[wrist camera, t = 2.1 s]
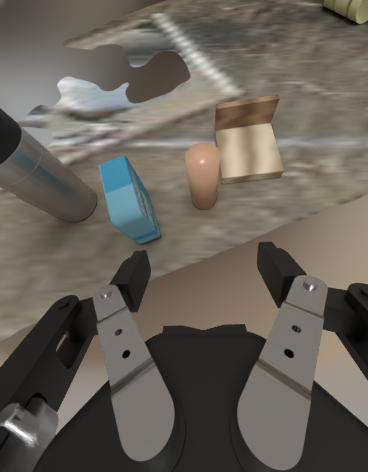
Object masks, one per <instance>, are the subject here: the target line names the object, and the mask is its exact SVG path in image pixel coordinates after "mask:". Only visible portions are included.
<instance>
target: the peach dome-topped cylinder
mask: <svg viewBox="0 0 368 472" xmlns="http://www.w3.org/2000/svg"><path fill="white" fill-rule="evenodd" d="M185 163H186V169H187V175H188V181H189V187H190V192H191V198H192V203H193V205H194V206H195V207H197V208H198V209H209V208H211V207H212V206H213V205H214V204H215V202H216V197H217V187H218V176H219V166H220V151H219V150H218V148H217V147H216V146H214V145H213V144H210V143H198V144H195V145H193V146H192V147H190V148H189V149H188V151H187V152H186V155H185Z"/></svg>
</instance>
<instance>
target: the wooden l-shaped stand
mask: <svg viewBox="0 0 368 472" xmlns="http://www.w3.org/2000/svg"><path fill="white" fill-rule="evenodd" d="M278 101H279V96H278V95H272V96H266V97H260V98H254V99H248V100H241V101H235V102H229V103H223V104H217V105H216V115H215V141H216V147H217V148H218V150H219V151H220V166H219V170H220V178H221V184H226V183H235V182H244V181H252V180H261V179H269V178H278V177H280V176H281V175H282V173H283V171H284V170H283V166H282V162H281V159H280V155H279V152H278V148H277V144H276V141H275V137H274V134H273V130H272V126H271V120H272V117H273V115H274V112H275V109H276V107H277V104H278Z"/></svg>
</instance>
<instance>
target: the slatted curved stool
mask: <svg viewBox="0 0 368 472" xmlns="http://www.w3.org/2000/svg"><path fill="white" fill-rule="evenodd" d="M323 6H324V7H326V8H328V9H330V10H332V11H335V12H336V13H338V14H340V15H342V16H344V17H347V18H349V19H351V20H353V21H355V22H357V23H359V24H362V23H364V22H366V21H368V0H324V3H323Z"/></svg>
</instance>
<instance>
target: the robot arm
mask: <svg viewBox="0 0 368 472" xmlns="http://www.w3.org/2000/svg"><path fill="white" fill-rule="evenodd" d="M0 187H1V188H3V189H5V190H7V191H9V192H11V193H13V194H15V195H16V196H17V197H18V198H19V199H21V200H23V201H25V202H27V203H29V204H31V205H33V206H35V207H38V208H40V209H42V210H44V211H46V212H48V213H50V214H52V215H54V216H56V217H58V218H62V219H64V220H66V221H68V222H78V221H82V220H84V219H85V218H87V217H88V216H89V215H90V214H91V213H92V212H93V210H94V208H95V206H96V203H97V197H96V194H95V192H94V191H93V190H92V189H91V188H90V187H89V186H87V185H86V184H85V183H84V182H83V181H82V180H81V179H80V178H79V177H77V176H76V175H75V174H74V173H73V172H72V171H71V170H70V169H68V168H67V167H66V166H65V165H64V164H63V163H62V162H61V161H59V160H58V159H57V158H56V157H55V156H54V155H53V154H52V153H50V152H49V151H48V150H47V149H46V148H45V147H44V146H43V145H41V144H40V143H39V142H38V141H37V140H36V139H35V138H33V137H32V136H31V135H30V134H29V133H28V132H27V131H25V130H24V129H23V128H22V127H21V126H20V125H19V124H18V123H17V122H16V121H14V120H13V119H12V118H11V117H10V116H9V115H7V114H6V113H5V112H4V111H3V110H2V109H0ZM257 267H258V270H259V272H260V274H261V276H262V278H263V280H264V282H265V284H266V286H267V288H268V290H269V291H270V294H271V296H272V298H273V299H274V301H275V303H276V305H277V307H278V308H280V310H279V312H278V315H277V317H276V319H275V322H274V324H273V326H272V329H271V331H270V333H269V336H268V338H267V340H266V339H264V338H263V337H261V336H259V335H257V334H254V333H251V332H247V330H246V327H245V324H240V325H239V324H237V325H236V324H235V325H221V326H218V327H214V328H211V329H207V330H200V329H195V328H191V327H187V326H164V327H163V333H160V334H158V335H155V336H153V337H152V338H150V339H149V340H147V341H146V342H144V340H143V338H142V336H141V334H140V332H139V330H138V328H137V325H136V323H135V321H134V319H133V317H132V315H131V312H138V309H139V306H140V303H141V301H142V298H143V295H144V292H145V289H146V286H147V283H148V281H149V278H150V275H151V267H150V263H149V259H148V255H147V252H146V250H140V251H135V252H134V253H133V255H132V257H131V258H128V259H126V260H125V261H124V262H123V263H122V265H121V266H120V268H119V270H118V272H117V273H116V274H115V276H114V277H113V279H112V281H111V282H110V284H109V285H107V286H104V287H102V288H100V289H99V290H97V291H96V292H95V294H94V295H93V297H91V298H88V299H84V300H81V301H79V299H78V297H77V296H75V295H69V296H66V297H63V298H61V299H60V300H58V301H57V302H55V303H54V304H53V305H52V306H51V308H50V309H49V310H48V311H47V312H46V313H45V315H44V316H43V317H42V318H41V319H40V321H39V322H38V323H37V324H36V325H35V327H34V328H33V329H32V330H31V331H30V333H29V334H28V335H27V336H26V337H25V339H24V340H23V341H22V342H21V343H20V344H19V346H18V347H17V348H16V349H15V350H14V352H13V353H12V354H11V355H10V356H9V358H8V359H7V360H6V361H5V362H4V364H3V365H2V366H1V367H0V472H368V427H367V426H366V425H365V424H364V423H363V422H361V421H360V420H359V419H358V418H357V417H356V416H354V415H353V414H352V413H351V412H350V411H349V410H348V409H346V408H345V407H344V406H343V405H342V404H341V403H339V402H338V401H337V400H336V399H335V398H334V397H333V396H332V395H330V394H329V393H328V392H327V391H326V390H324V388H322V387H321V386H320V385H319V384H318V383H317V382H315V381H314V380H313V379H314V374H315V368H316V362H317V356H318V351H319V345H320V340H321V334H322V329H324V330H328V331H332V332H335V333H336V335H337V336H338V338H339V339H340V340H341V342H342V343H343V345H344V346H345V348H346V349H347V351H348V352H349V354H350V355H351V357H352V358H353V360H354V361H355V362H356V364H357V365H358V367H359V368H360V370H361V371H362V373H363V374H364V376H365V377H366V379H367V380H368V285H367V284H362V283H354V284H351V285H349V287H348V290H341V289H335V288H329V287H327V285H326V284H325V283H324V282H323V281H321V280H319V279H318V278H315V277H312V276H308V275H307V274H306V273H305V272H304V271H303V269H302V268H301V267H300V266H299V265H298V264H297V263H296V262H295V260H294V259H293V258H292V257H291V256H290V255H289V253H288V252H286V251H284V250H283V249H281V248H276V246H275V245H274V244H273V243H272V242H260V243H259V245H258V255H257ZM64 334H65V335H66V338H65V339H64V341H63V343H62V344H61V346H60V347H59V349H58V350H57V352H56V348H57V345H58V344H59V342H60V340H61V339H62V337H63V335H64ZM98 334H99V338H100V342H101V347H102V351H103V356H104V360H105V365H106V369H107V373H108V378H109V380H108V381H107V382H106V383H105V384H104V385H103V386H102V387H101V388H100V389H99V390H98V391H97V392H96V393H95V395H94V396H93V397H92V398H91V399H90V400H89V401H88V402H87V403H86V404H85V405H84V406H83V407H82V408H81V409H80V410H79V411H78V412H77V414H76V415H75V416H74V417H73V418H72V419H71V420H70V421H69V422H68V423H67V424H66V425H65V426H64V427H63V428H62V429H61V430H60V431H59V432H58V434H57V435H55V432H56V429H57V426H58V414H57V411H58V409H59V407H60V405H61V403H62V401H63V399H64V397H65V395H66V393H67V391H68V389H69V387H70V384H71V382H72V380H73V378H74V376H75V374H76V372H77V370H78V368H79V366H80V364H81V362H82V360H83V358H84V355H85V353H86V351H87V349H88V347H89V345H90V343H91V341H92V339H93V337H94V335H98Z"/></svg>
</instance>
